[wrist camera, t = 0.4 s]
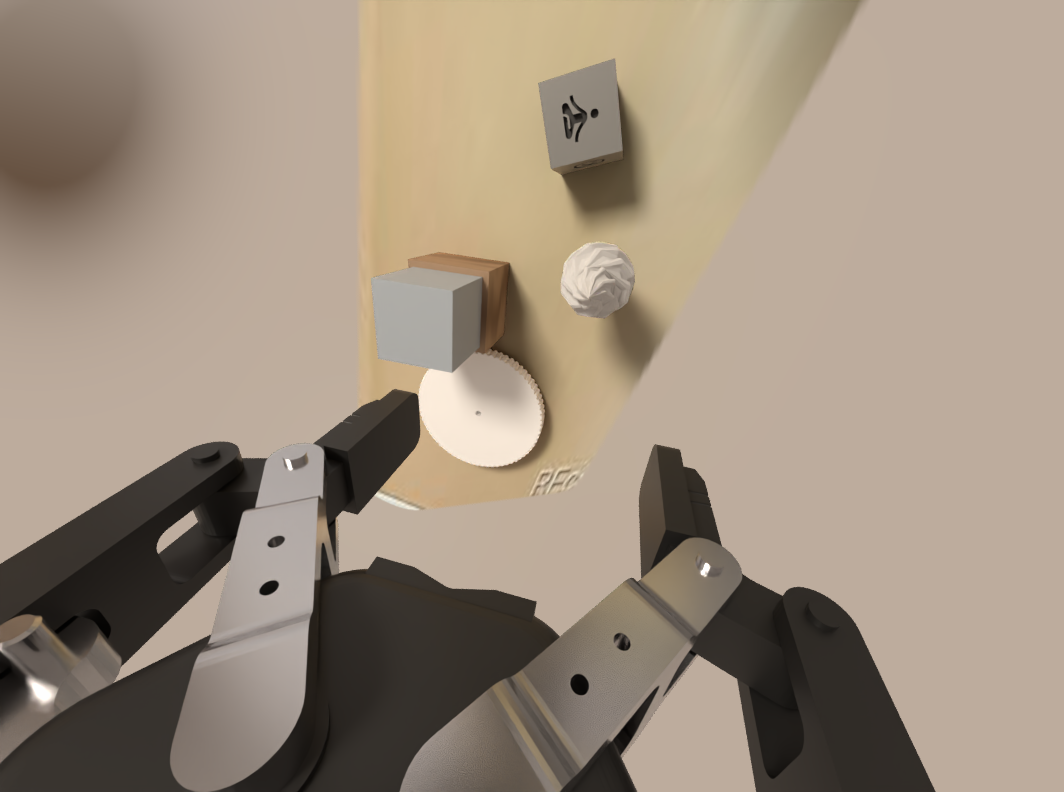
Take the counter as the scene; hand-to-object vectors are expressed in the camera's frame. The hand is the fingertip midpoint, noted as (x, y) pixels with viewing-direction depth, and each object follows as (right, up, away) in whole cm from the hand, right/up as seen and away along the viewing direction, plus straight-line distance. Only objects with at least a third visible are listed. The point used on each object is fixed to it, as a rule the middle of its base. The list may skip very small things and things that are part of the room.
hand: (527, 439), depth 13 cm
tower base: (-6, +12, +25) cm, 28 cm away
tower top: (-7, +9, +20) cm, 23 cm away
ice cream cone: (+7, +13, +21) cm, 26 cm away
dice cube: (+5, +22, +17) cm, 29 cm away
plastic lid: (-5, +1, +31) cm, 31 cm away
